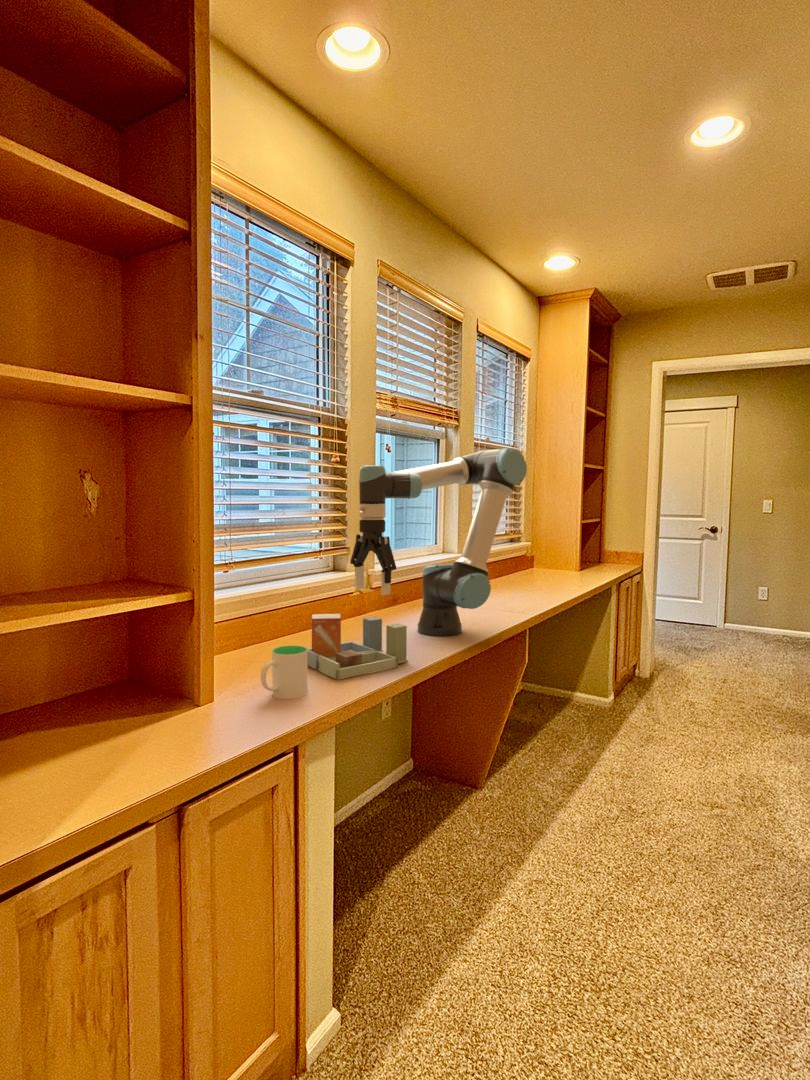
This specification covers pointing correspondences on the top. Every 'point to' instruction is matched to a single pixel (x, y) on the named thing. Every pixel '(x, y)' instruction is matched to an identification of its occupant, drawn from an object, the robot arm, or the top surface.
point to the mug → (287, 672)
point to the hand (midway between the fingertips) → (372, 591)
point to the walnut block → (348, 658)
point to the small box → (326, 634)
